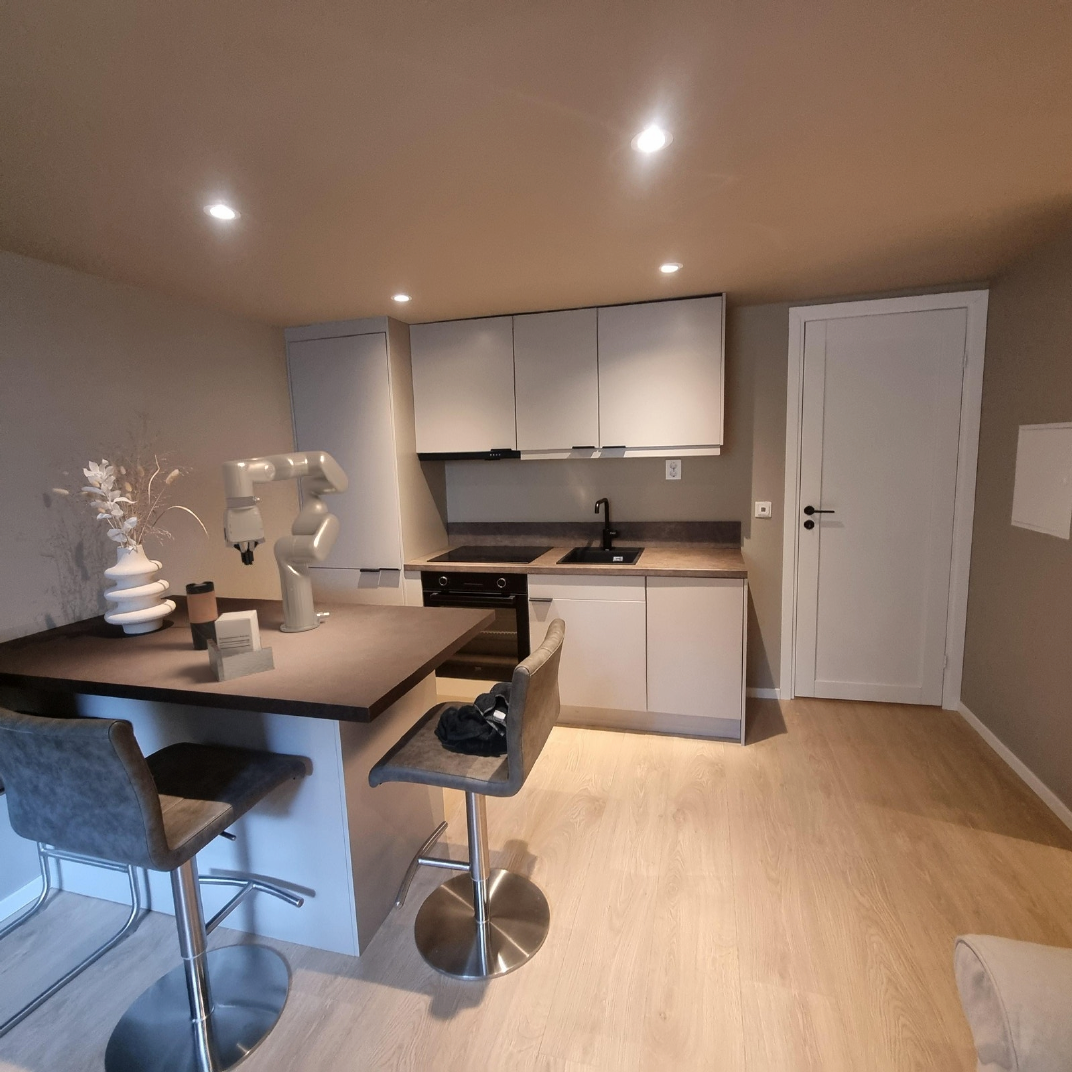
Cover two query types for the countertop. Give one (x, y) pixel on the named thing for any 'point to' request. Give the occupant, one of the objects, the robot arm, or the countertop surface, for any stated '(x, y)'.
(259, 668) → the bracket
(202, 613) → the travel mug
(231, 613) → the supplement box
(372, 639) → the countertop surface
